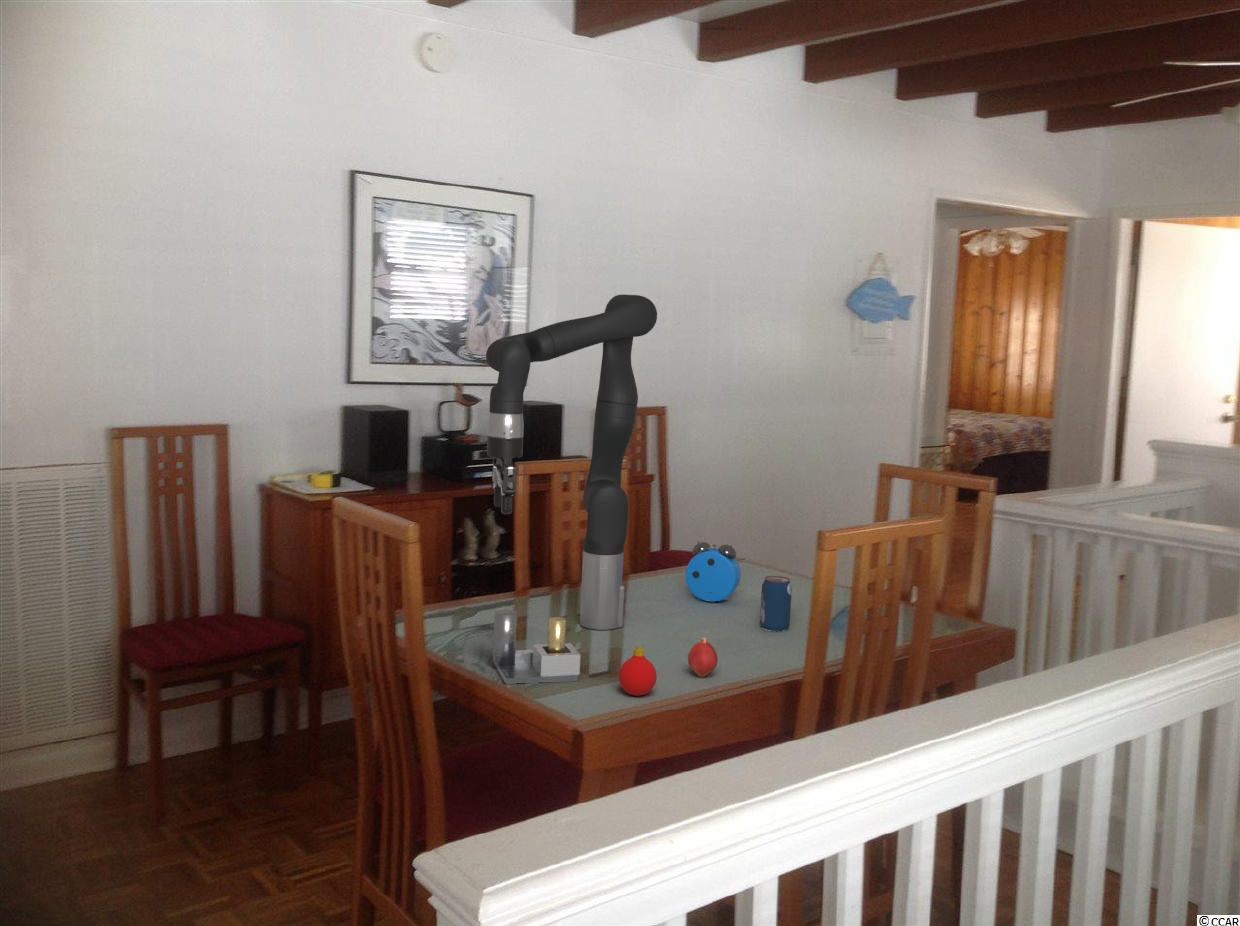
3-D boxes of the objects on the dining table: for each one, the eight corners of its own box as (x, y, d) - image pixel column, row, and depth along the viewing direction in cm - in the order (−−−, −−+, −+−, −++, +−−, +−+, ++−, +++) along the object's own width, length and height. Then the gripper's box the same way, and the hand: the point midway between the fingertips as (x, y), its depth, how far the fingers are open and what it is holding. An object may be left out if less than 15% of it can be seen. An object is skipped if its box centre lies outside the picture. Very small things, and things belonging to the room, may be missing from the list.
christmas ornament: (651, 688, 205) (654, 637, 204) (659, 700, 198) (662, 647, 197) (614, 688, 204) (617, 636, 203) (621, 701, 197) (623, 648, 196)
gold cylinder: (545, 667, 210) (547, 617, 209) (561, 666, 211) (563, 616, 210) (549, 672, 207) (551, 621, 206) (565, 671, 208) (567, 621, 207)
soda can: (795, 629, 251) (798, 579, 250) (777, 634, 246) (781, 583, 245) (770, 623, 256) (773, 573, 255) (753, 628, 251) (756, 577, 250)
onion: (685, 671, 216) (687, 633, 215) (713, 672, 216) (715, 633, 215) (689, 681, 210) (691, 641, 209) (718, 681, 211) (720, 642, 210)
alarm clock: (739, 601, 276) (742, 543, 274) (733, 606, 270) (737, 547, 269) (690, 594, 280) (693, 538, 279) (683, 599, 275) (686, 542, 273)
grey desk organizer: (564, 661, 218) (566, 607, 217) (579, 681, 207) (582, 624, 206) (490, 665, 214) (492, 610, 213) (502, 684, 203) (504, 626, 201)
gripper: (482, 430, 233) (479, 504, 235) (493, 437, 219) (491, 516, 221) (516, 431, 235) (513, 504, 237) (529, 438, 221) (526, 516, 223)
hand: (502, 510), depth 229 cm, fingers open, 8 cm apart
